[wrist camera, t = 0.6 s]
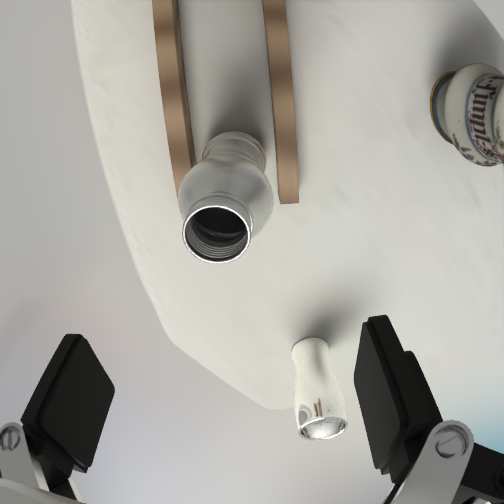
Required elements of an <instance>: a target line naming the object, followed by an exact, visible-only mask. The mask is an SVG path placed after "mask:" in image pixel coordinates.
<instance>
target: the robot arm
mask: <svg viewBox="0 0 504 504" xmlns="http://www.w3.org/2000/svg"><path fill="white" fill-rule="evenodd" d="M354 385H355V389H356V393H357V396H358V400H359V404H360V408H361V412H362V416H363V420H364V424H365V428H366V432H367V437H368V441H369V445H370V449H371V454H372V458H373V463H374V466H375V468H376V469H380V470H381V474H382V475H384V474H389V473H390V476H391V481H392V483H394V485H393V486H392V488H391V490H390V491H389V493H388V495H387V496H386V498H385V499H384V501H383V503H382V504H504V454H502V453H499V452H496V451H494V450H491V449H489V448H486V447H484V446H482V445H479V444H477V443H474V439H473V434H472V432H471V430H470V429H469V428H468V427H467V426H466V425H465V424H463V423H461V422H459V421H454V420H450V421H444V422H443V419H442V417H441V414H440V412H439V409H438V407H437V405H436V402H435V400H434V397H433V395H432V393H431V390H430V388H429V386H428V383H427V381H426V379H425V377H424V374H423V372H422V370H421V367H420V365H419V363H418V361H417V359H416V357H415V355H414V353H413V352H412V351H405V352H404V350H403V348H402V346H401V343H400V341H399V339H398V337H397V335H396V333H395V330H394V328H393V326H392V324H391V322H390V320H389V318H388V316H387V315H380V316H373V317H369V318H368V321H367V322H364V323H363V324H362V330H361V337H360V343H359V349H358V355H357V360H356V366H355V371H354ZM114 393H115V388H114V385H113V383H112V382H111V380H110V378H109V377H108V375H107V374H106V372H105V370H104V369H103V367H102V365H101V364H100V362H99V360H98V358H97V357H96V355H95V353H94V351H93V350H92V348H91V346H90V344H89V343H88V341H87V340H86V339H85V338H84V337H83V336H82V335H81V334H66V335H65V336H64V338H63V339H62V341H61V343H60V344H59V346H58V348H57V350H56V351H55V354H54V355H53V357H52V359H51V360H50V362H49V364H48V366H47V368H46V370H45V372H44V374H43V375H42V377H41V379H40V381H39V383H38V385H37V387H36V389H35V391H34V393H33V395H32V397H31V399H30V401H29V403H28V405H27V407H26V409H25V411H24V413H23V415H22V418H21V422H22V423H23V426H22V427H21V426H20V425H19V424H18V423H13V422H11V423H8V424H5V425H4V426H3V427H2V428H1V429H0V504H85V503H84V501H83V499H82V497H81V494H80V492H79V490H78V488H77V486H76V484H75V481H74V479H73V476H72V474H71V473H72V470H73V469H74V470H75V471H79V472H82V473H87V470H88V467H90V466H91V465H92V462H93V459H94V455H95V452H96V449H97V445H98V442H99V439H100V436H101V433H102V429H103V426H104V423H105V420H106V417H107V414H108V411H109V408H110V405H111V402H112V399H113V396H114Z"/></svg>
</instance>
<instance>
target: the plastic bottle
mask: <svg viewBox="0 0 504 504" xmlns="http://www.w3.org/2000/svg"><path fill="white" fill-rule="evenodd" d="M265 167H266V155H265V152H264V150H263V148H262V146H261V145H260V143H259V142H258V141H257V140H256V139H255V138H253V137H252V136H250V135H248V134H245V133H243V132H237V131H231V132H225V133H222V134H219V135H217V136H216V137H214V138H213V139H211V140H210V142H209V143H208V144H207V145H206V147H205V149H204V151H203V154H202V161H200V162H199V163H198V164H196V165H195V166H194V167H193V168H191V170H190V171H189V172H188V173H187V174H186V175H185V177H184V179H183V180H182V182H181V185H180V188H179V192H178V204H179V210H180V213H181V216H182V219H183V221H184V224H183V232H182V235H183V240H184V243H185V245H186V247H187V248H188V250H189V251H190V252H191V253H192V254H193V255H194V256H195V257H197V258H198V259H200V260H202V261H205V262H208V263H214V264H223V263H228V262H231V261H233V260H235V259H237V258H239V257H240V256H241V255H242V254H243V253H244V252H245V251H246V249H247V247H248V245H249V243H250V240H251V238H252V237H254V236H255V235H257V234H258V233H259V232H260V231H261V230H262V228H263V227H264V226H265V224H266V223H267V221H268V220H269V218H270V215H271V213H272V209H273V204H274V201H273V192H272V188H271V185H270V183H269V181H268V179H267V177H266V175H265V174H264V171H265Z"/></svg>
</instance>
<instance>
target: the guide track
mask: <svg viewBox="0 0 504 504" xmlns="http://www.w3.org/2000/svg"><path fill="white" fill-rule="evenodd" d="M262 3H263V13H264V22H265V32H266V42H267V52H268V63H269V74H270V85H271V97H272V109H273V122H274V135H275V149H276V164H277V179H278V195H279V200H280V204H291V203H299V188H298V164H297V144H296V127H295V111H294V97H293V84H292V71H291V59H290V48H289V38H288V28H287V19H286V9H285V1H284V0H262ZM152 5H153V18H154V30H155V41H156V51H157V61H158V70H159V78H160V87H161V95H162V103H163V110H164V117H165V124H166V131H167V138H168V145H169V151H170V157H171V164H172V170H173V176H174V182H175V187H176V193H177V199H178V192H179V188H180V185H181V182H182V180H183V179H184V177H185V175H186V174H187V173H188V172H189V171H190V170H191V168H193V167H194V166H195V165H196V160H195V153H194V145H193V138H192V130H191V123H190V115H189V107H188V99H187V90H186V82H185V73H184V64H183V54H182V44H181V34H180V23H179V12H178V0H152Z"/></svg>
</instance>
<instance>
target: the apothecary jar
mask: <svg viewBox="0 0 504 504" xmlns="http://www.w3.org/2000/svg"><path fill="white" fill-rule="evenodd" d="M430 112H431V117H432V120H433V123H434V126H435V128H436V130H437V131H438V132H439V134H440V135H441V136H442V137H443V138H444V139H445V140H446V141H448V142H449V143H451V144H453V145H455V147H456V148H457V150H458V151H459V152H460V153H461V154H462V155H463V156H464V157H465V158H466V159H468V160H469V161H471V162H473V163H475V164H477V165H481V166H495V165H498V164H500V163H502V164H503V166H504V74H502V73H501V72H500V71H499V70H497V69H496V68H494V67H492V66H489V65H486V64H480V63H476V64H471V65H468V66H465V67H463V68H462V69H460V70H459V71H458V72H449V73H446V74H445V75H443V76H442V77H440V79H439V80H438V81H437V82H436V84H435V85H434V87H433V89H432V93H431V97H430Z"/></svg>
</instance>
